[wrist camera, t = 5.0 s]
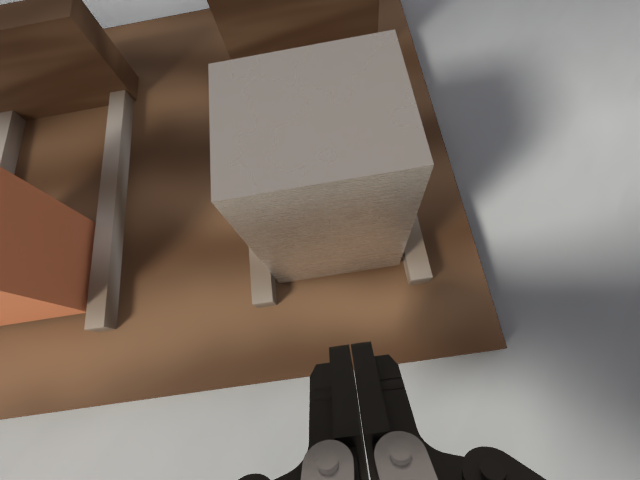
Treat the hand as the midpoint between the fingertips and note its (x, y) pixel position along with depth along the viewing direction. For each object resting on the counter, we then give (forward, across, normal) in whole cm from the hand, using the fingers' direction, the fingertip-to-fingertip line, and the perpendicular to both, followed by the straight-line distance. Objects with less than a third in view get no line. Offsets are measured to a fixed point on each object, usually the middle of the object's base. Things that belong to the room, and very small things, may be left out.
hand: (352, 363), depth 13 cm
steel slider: (+8, 0, -2) cm, 8 cm away
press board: (+13, +8, -5) cm, 16 cm away
